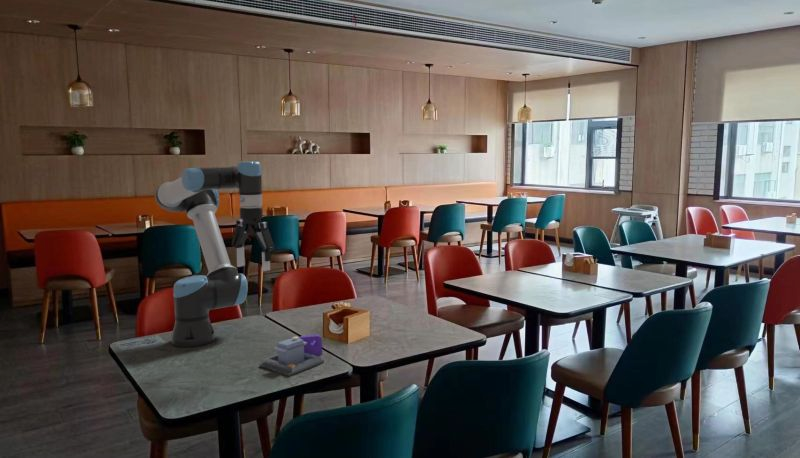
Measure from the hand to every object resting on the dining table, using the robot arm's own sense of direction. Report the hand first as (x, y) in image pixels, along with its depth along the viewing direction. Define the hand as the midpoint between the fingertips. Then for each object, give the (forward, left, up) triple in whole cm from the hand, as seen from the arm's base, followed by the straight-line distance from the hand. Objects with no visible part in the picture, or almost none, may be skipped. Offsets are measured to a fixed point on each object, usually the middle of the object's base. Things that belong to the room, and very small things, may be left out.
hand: (253, 268), depth 208 cm
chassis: (+22, -4, -29) cm, 36 cm away
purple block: (+16, +10, -29) cm, 35 cm away
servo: (+22, -4, -28) cm, 36 cm away
